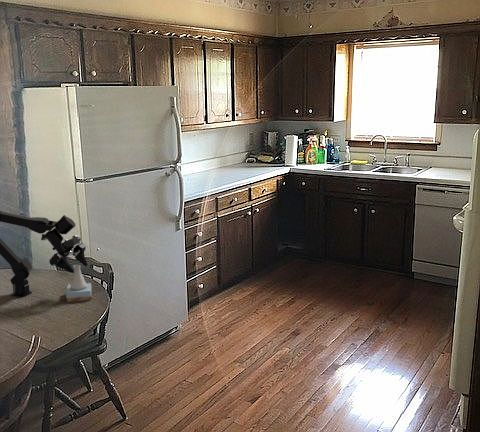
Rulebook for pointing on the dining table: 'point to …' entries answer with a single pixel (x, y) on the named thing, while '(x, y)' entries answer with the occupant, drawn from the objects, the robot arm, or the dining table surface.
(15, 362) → the dining table surface
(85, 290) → the pale blue square slab
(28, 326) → the dining table surface
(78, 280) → the flask
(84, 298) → the walnut block
